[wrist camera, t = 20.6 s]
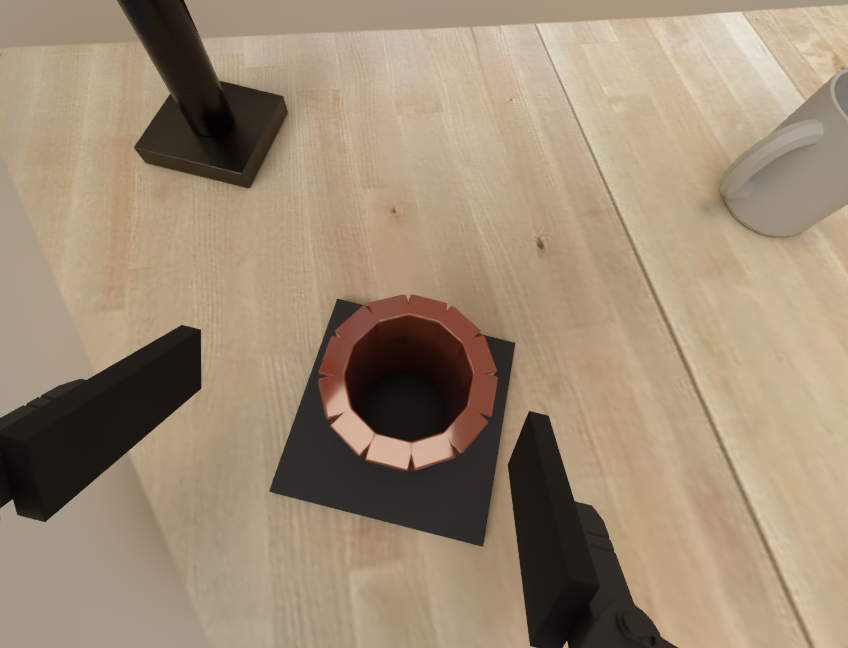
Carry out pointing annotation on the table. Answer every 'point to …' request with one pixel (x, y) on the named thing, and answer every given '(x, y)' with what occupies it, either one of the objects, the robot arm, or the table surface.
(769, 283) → the table surface
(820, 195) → the cup
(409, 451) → the sleeve ring
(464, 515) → the mat
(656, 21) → the table surface
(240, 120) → the post stand
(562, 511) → the robot arm
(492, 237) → the table surface
